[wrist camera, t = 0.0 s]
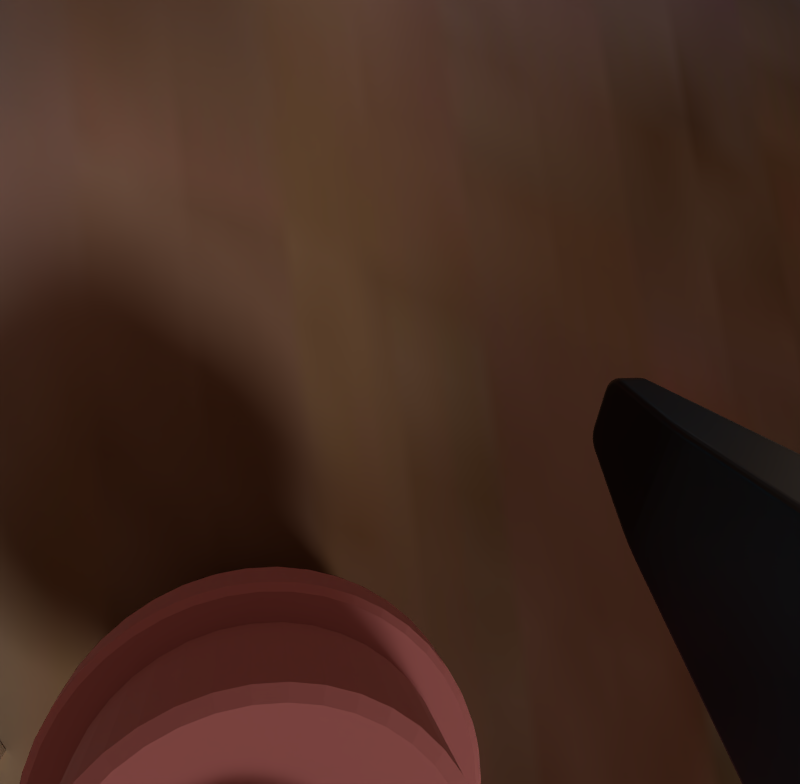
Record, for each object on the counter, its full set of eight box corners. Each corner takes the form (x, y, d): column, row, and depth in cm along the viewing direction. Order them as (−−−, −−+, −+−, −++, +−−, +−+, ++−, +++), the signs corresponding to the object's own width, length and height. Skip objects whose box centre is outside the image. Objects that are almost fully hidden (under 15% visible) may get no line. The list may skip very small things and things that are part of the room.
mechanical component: (63, 555, 22) (373, 478, 24) (137, 854, 23) (432, 755, 24) (-169, 781, 10) (498, 586, 12) (7, 1409, 10) (608, 1125, 12)
